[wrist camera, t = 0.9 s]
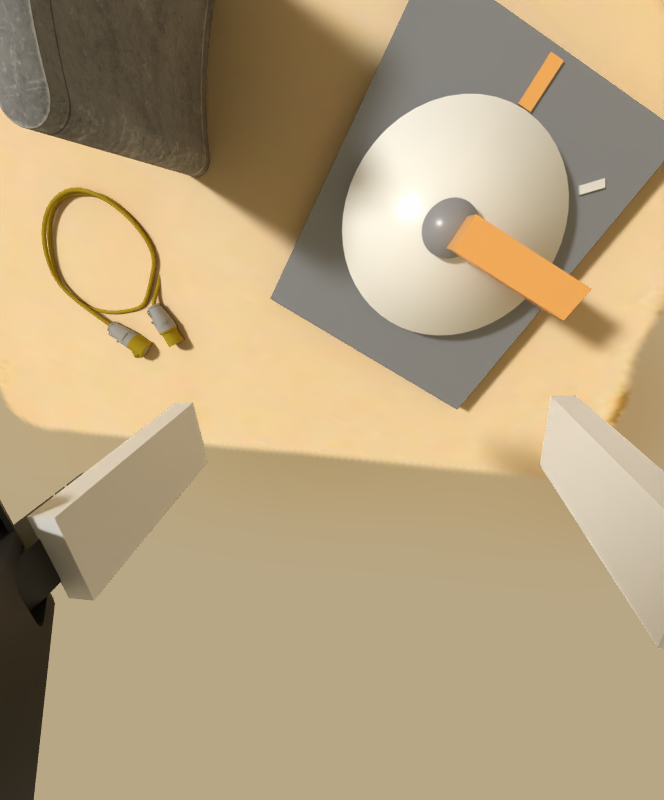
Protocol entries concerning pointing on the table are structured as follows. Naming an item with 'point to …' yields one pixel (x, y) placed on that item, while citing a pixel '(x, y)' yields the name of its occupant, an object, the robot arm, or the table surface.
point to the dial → (459, 217)
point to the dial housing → (489, 75)
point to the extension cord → (119, 331)
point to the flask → (111, 75)
